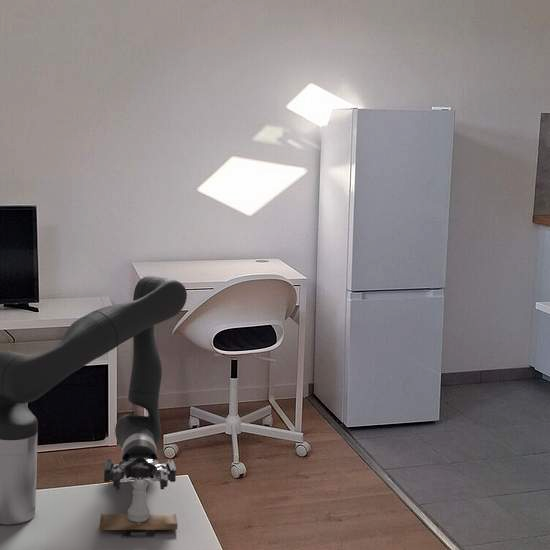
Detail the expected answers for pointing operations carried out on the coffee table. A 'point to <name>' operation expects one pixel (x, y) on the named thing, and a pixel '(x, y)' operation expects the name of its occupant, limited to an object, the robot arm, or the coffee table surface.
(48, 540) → the coffee table surface
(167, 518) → the beam
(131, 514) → the rook chess piece
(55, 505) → the coffee table surface
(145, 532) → the fulcrum
